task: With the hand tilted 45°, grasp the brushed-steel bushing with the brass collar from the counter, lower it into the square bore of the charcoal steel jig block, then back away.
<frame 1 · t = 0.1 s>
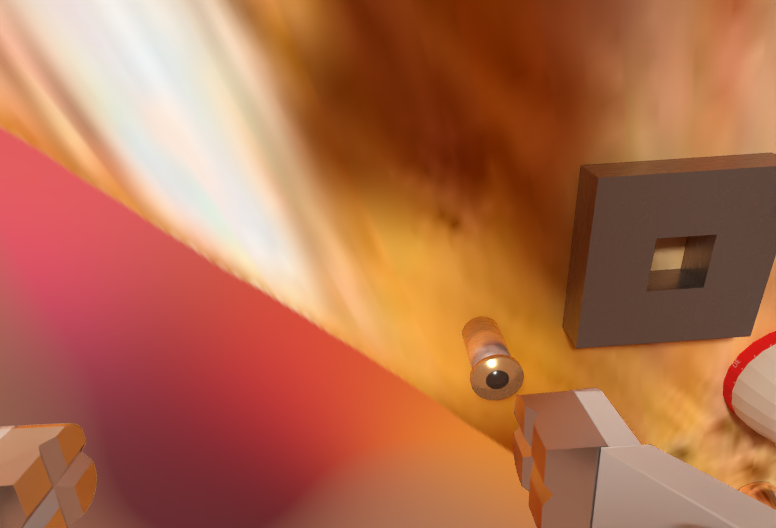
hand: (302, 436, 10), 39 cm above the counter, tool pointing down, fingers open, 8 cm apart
bushing: (480, 332, 56), on the counter
jig: (658, 246, 52), on the counter
beer glass: (751, 495, 69), on the counter
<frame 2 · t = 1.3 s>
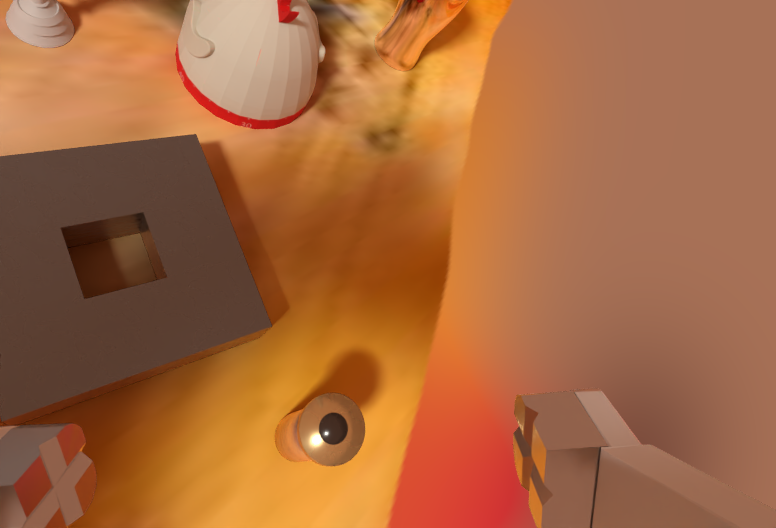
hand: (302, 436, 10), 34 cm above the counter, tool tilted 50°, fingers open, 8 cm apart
kitchen timer: (245, 73, 54), on the counter
bushing: (298, 436, 43), on the counter
jig: (114, 271, 41), on the counter
beer glass: (394, 52, 66), on the counter
chalice: (41, 25, 45), on the counter
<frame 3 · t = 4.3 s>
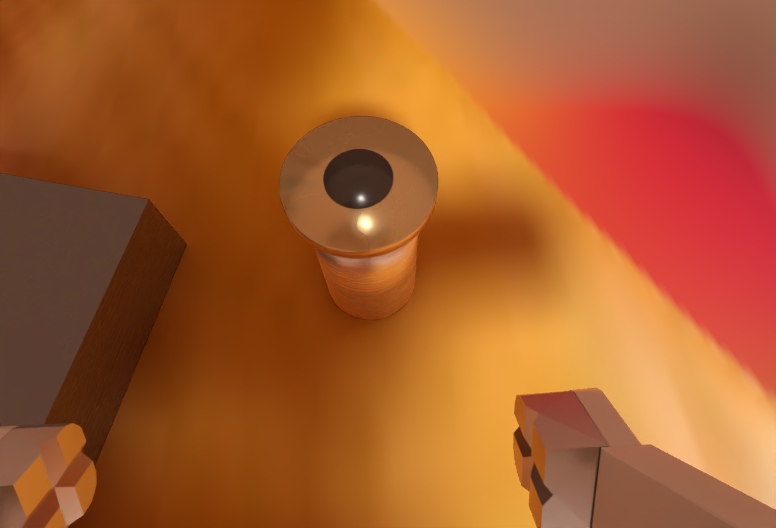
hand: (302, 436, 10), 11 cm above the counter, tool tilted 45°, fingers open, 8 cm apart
bushing: (371, 278, 23), on the counter
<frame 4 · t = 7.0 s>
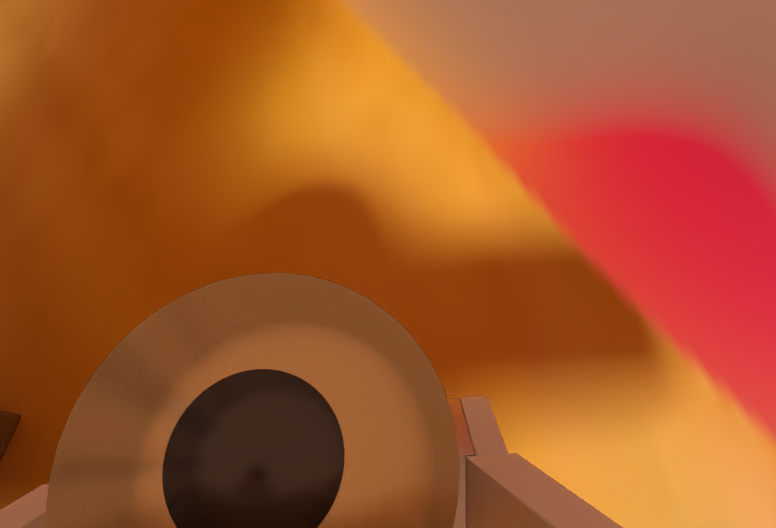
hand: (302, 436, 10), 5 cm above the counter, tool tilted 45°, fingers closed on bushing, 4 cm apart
bushing: (331, 478, 14), on the counter, touching gripper
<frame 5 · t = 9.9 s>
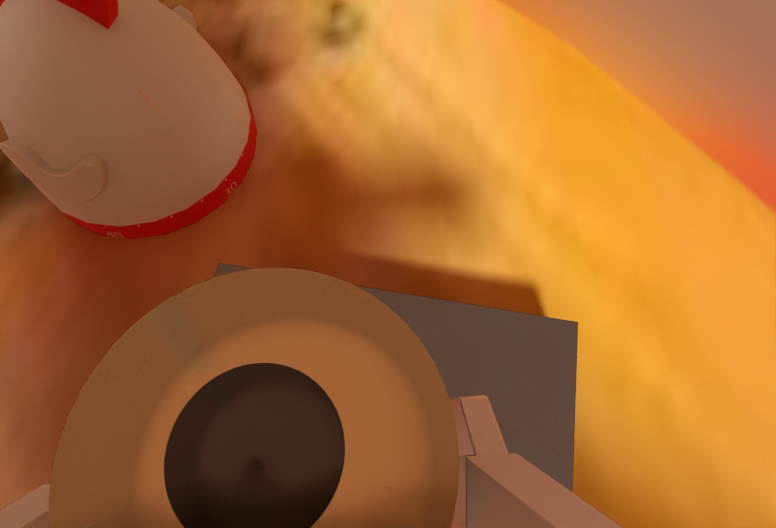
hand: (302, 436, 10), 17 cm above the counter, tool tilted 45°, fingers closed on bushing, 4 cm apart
kitchen timer: (155, 149, 34), on the counter
bushing: (332, 475, 14), point 13 cm above the counter, touching gripper
jig: (360, 488, 25), on the counter
when the fingers open (7 cm above the counter, at t = 12.9 s): bushing drops 2 cm, resting in jig.
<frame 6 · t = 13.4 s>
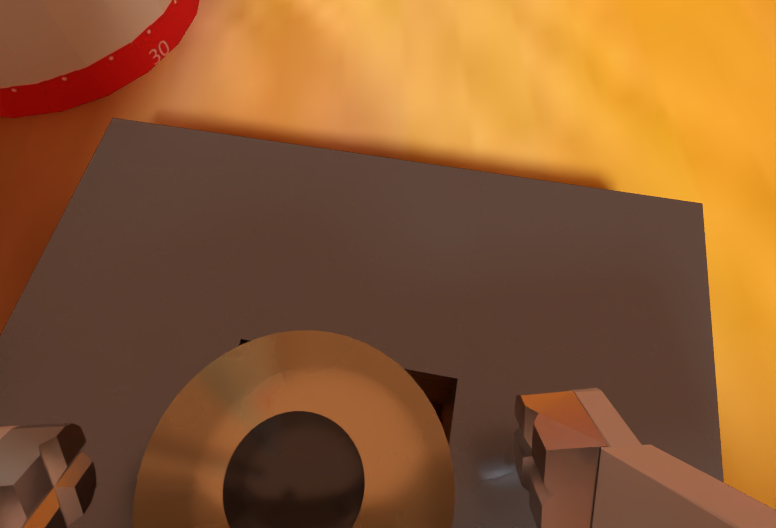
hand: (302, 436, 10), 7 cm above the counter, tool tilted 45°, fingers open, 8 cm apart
kitchen timer: (59, 7, 25), on the counter
bushing: (343, 490, 15), resting in jig
jig: (338, 481, 15), on the counter
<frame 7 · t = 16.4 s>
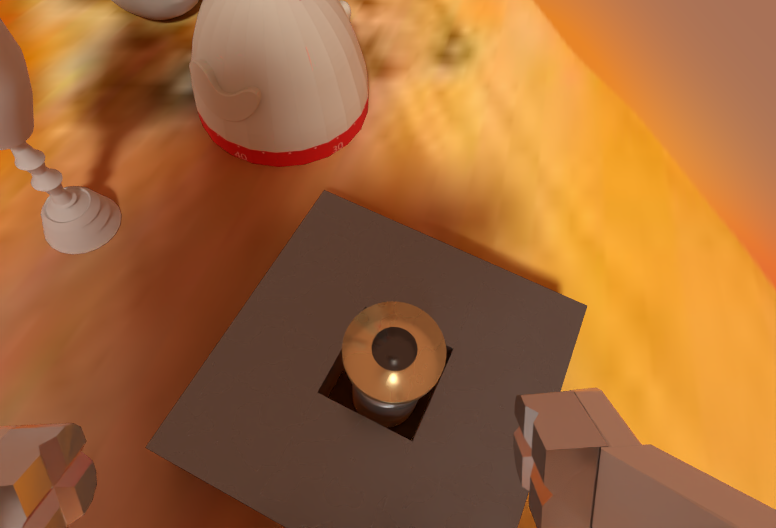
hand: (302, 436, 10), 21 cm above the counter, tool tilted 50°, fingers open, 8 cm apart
kitchen timer: (285, 103, 43), on the counter
bushing: (384, 394, 31), resting in jig
glass bottle: (165, 7, 48), on the counter
jig: (383, 389, 31), on the counter
chalice: (84, 224, 36), on the counter
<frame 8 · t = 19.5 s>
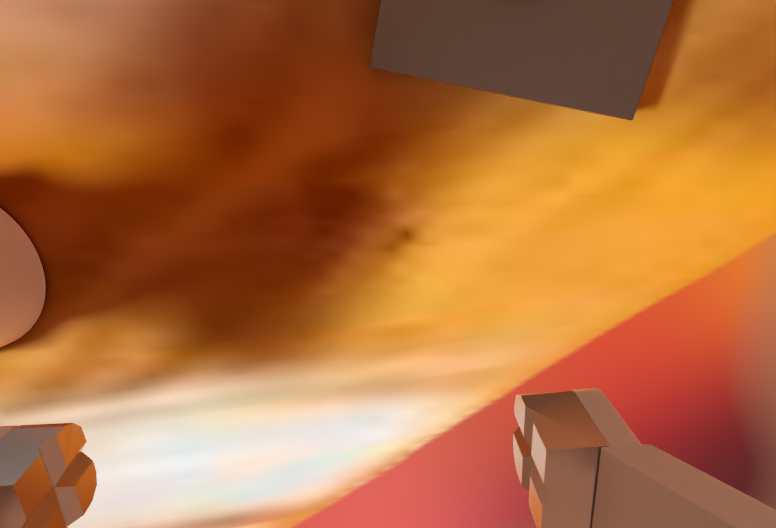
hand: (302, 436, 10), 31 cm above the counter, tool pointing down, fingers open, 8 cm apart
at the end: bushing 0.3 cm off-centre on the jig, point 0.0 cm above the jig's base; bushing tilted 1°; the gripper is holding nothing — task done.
